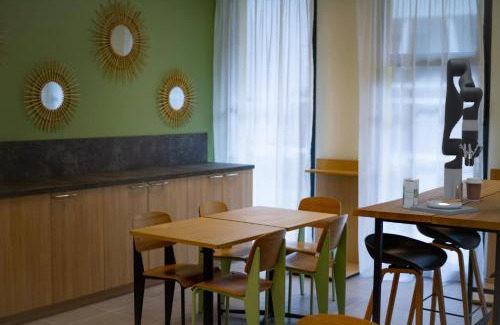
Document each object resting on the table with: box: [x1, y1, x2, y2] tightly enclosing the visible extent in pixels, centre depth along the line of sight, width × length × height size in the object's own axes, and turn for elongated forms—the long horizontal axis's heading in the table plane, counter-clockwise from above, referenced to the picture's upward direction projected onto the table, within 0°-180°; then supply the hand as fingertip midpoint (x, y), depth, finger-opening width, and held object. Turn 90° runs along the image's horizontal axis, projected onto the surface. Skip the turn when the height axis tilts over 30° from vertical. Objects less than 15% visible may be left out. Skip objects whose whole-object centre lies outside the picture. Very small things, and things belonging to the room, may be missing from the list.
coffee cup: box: [464, 177, 484, 202], centre depth 353 cm, size 9×9×12 cm
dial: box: [426, 186, 463, 209], centre depth 315 cm, size 20×16×9 cm
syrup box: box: [402, 177, 420, 209], centre depth 322 cm, size 6×6×14 cm
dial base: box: [410, 204, 479, 216], centre depth 314 cm, size 22×22×2 cm
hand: (469, 166), depth 314 cm, fingers closed
